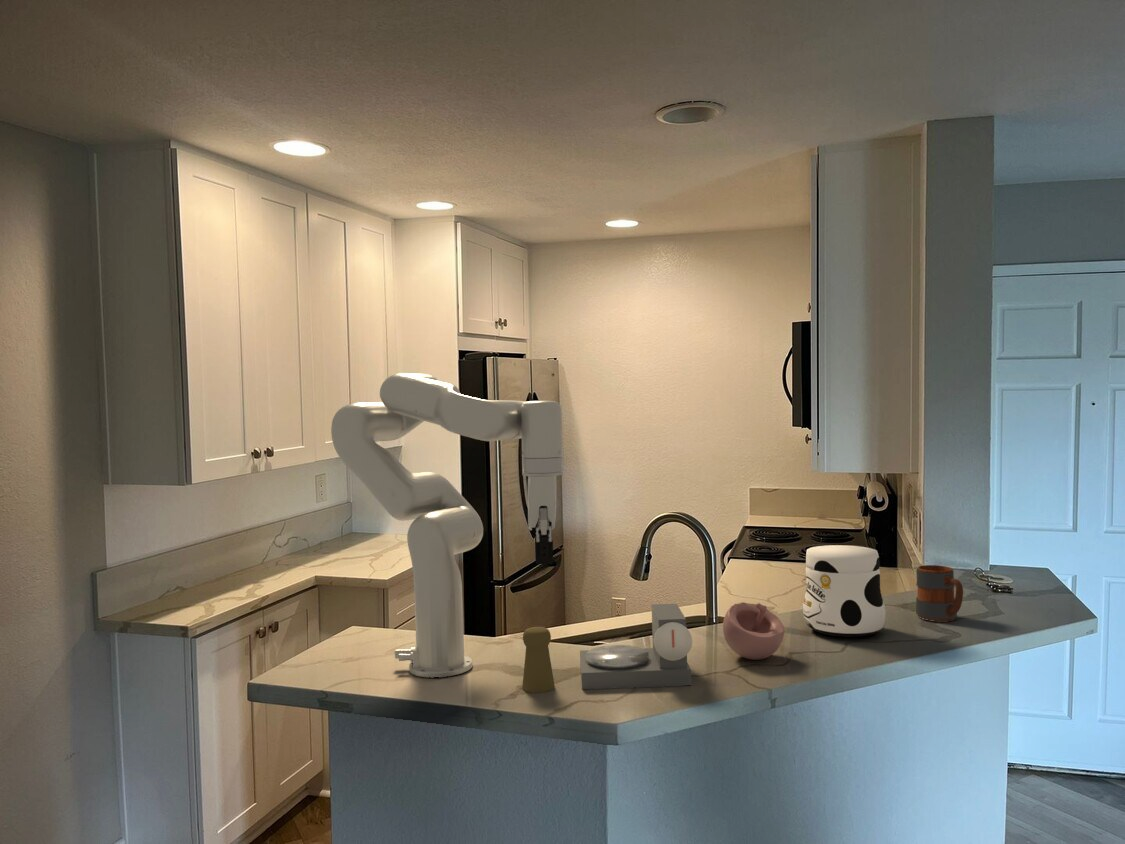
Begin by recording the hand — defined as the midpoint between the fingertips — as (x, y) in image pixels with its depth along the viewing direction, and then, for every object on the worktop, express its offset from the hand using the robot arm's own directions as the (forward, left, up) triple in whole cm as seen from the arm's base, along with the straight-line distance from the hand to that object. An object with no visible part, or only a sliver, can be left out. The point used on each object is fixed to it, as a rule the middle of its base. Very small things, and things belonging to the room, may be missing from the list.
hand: (544, 558), depth 151 cm
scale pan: (+13, +4, -20) cm, 25 cm away
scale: (+16, +4, -24) cm, 29 cm away
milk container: (+65, +29, -24) cm, 75 cm away
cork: (-2, -1, -24) cm, 24 cm away
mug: (+90, +36, -24) cm, 100 cm away
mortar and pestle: (+41, +12, -24) cm, 49 cm away
